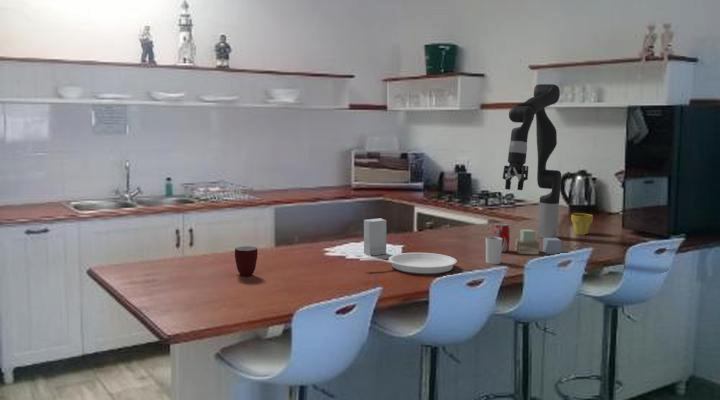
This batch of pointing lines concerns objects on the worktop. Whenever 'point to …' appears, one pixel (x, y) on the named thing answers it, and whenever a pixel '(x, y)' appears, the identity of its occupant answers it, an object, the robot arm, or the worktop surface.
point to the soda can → (502, 235)
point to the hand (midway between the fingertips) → (513, 189)
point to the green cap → (527, 235)
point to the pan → (420, 263)
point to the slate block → (551, 245)
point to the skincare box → (375, 236)
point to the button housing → (527, 247)
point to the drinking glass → (493, 250)
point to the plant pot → (581, 223)
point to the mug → (246, 260)
